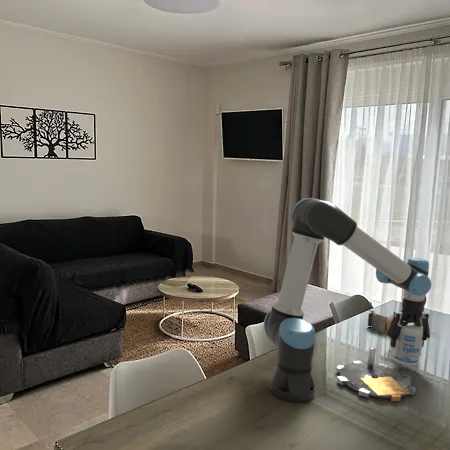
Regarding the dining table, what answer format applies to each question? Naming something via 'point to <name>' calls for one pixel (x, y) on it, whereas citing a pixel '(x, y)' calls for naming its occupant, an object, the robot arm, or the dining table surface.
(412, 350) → the supplement tub
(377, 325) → the ruin model on sheet
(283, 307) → the robot arm
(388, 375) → the sprocket
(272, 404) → the dining table surface
